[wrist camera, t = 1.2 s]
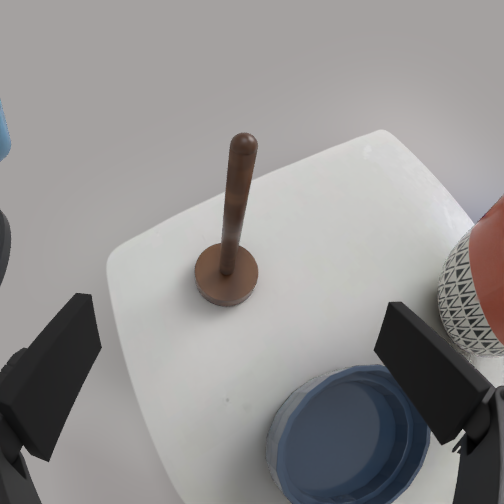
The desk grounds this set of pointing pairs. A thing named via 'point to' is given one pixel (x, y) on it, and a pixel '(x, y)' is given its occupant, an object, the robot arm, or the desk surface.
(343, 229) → the desk surface
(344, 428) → the bowl
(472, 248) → the planter
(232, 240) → the masher
